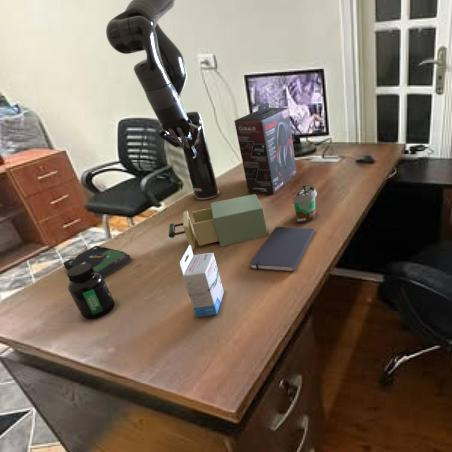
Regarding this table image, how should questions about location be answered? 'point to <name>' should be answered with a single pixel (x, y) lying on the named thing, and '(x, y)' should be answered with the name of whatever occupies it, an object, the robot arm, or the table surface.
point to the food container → (305, 204)
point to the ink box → (202, 282)
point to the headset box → (266, 149)
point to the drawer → (197, 227)
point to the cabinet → (238, 219)
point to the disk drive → (100, 260)
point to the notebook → (282, 249)
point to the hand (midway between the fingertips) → (192, 157)
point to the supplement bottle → (89, 292)
